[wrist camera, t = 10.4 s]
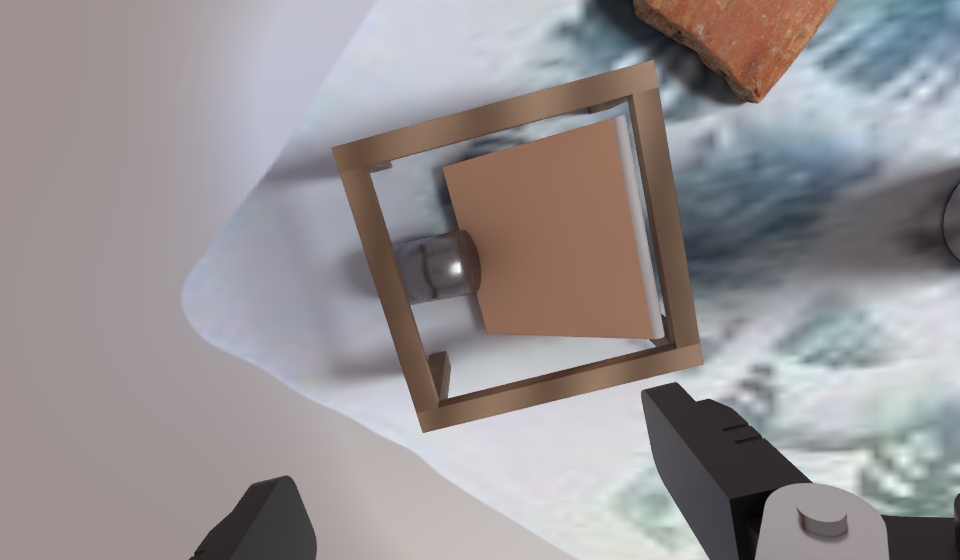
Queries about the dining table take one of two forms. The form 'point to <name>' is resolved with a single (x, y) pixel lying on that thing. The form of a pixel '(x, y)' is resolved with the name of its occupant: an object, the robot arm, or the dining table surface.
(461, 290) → the cylinder
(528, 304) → the trapdoor
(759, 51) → the reddish brown rock
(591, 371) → the trapdoor frame
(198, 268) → the dining table surface
